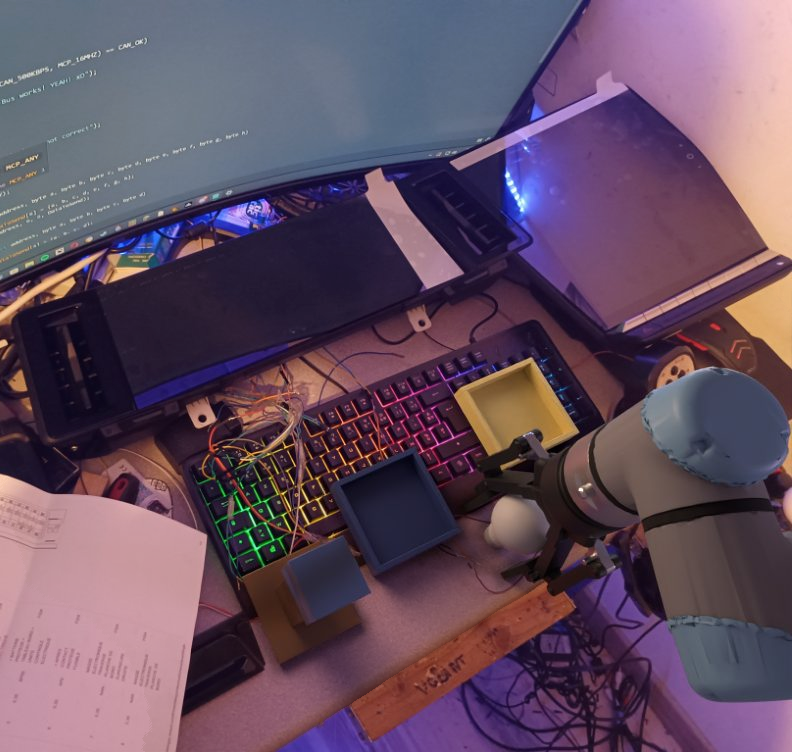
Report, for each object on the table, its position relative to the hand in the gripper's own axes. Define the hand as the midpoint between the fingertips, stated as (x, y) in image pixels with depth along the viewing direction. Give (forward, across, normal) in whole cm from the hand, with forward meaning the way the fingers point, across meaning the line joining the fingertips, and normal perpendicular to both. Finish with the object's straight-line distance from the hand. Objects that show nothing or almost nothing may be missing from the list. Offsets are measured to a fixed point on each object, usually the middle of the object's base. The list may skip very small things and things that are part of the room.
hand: (493, 537), depth 78 cm
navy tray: (0, -7, -9) cm, 11 cm away
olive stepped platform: (0, -3, -22) cm, 22 cm away
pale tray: (0, -11, +10) cm, 15 cm away
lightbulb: (0, 0, 0) cm, 0 cm away
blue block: (-12, -3, -22) cm, 25 cm away
